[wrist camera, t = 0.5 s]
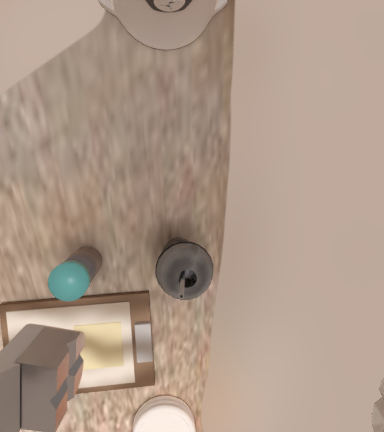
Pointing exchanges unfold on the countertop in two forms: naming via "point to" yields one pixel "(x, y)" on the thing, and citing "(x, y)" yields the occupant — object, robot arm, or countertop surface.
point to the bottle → (75, 274)
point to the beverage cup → (184, 269)
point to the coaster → (164, 416)
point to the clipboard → (96, 335)
